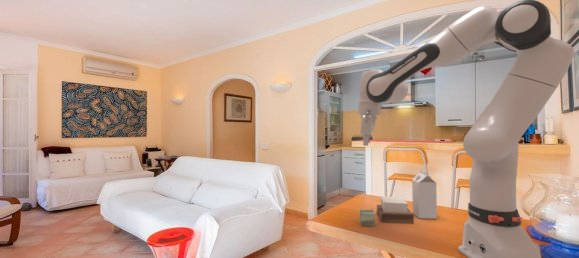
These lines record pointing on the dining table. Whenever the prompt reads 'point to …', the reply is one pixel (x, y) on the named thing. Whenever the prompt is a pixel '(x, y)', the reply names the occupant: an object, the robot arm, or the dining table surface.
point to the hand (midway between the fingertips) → (366, 143)
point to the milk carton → (424, 196)
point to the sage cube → (367, 217)
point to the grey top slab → (394, 204)
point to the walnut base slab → (395, 216)
